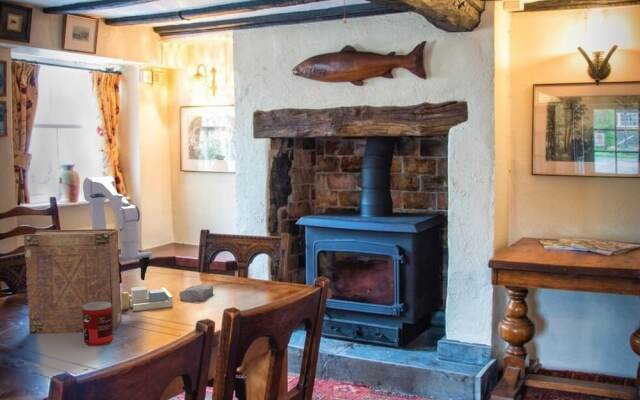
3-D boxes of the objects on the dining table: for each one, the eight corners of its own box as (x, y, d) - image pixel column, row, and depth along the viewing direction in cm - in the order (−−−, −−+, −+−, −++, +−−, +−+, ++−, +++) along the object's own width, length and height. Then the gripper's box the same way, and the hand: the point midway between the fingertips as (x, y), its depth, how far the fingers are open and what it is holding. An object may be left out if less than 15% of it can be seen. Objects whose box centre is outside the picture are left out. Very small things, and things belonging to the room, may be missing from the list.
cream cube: (131, 301, 236) (130, 287, 236) (145, 300, 238) (145, 286, 238) (133, 304, 232) (132, 290, 231) (148, 303, 233) (147, 289, 233)
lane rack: (127, 300, 237) (127, 291, 237) (164, 296, 242) (164, 287, 242) (133, 310, 223) (133, 300, 223) (172, 306, 228) (172, 296, 228)
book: (28, 333, 199) (22, 234, 196) (40, 324, 208) (35, 230, 205) (113, 331, 200) (108, 233, 197) (121, 322, 209) (117, 228, 206)
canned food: (88, 338, 193) (86, 301, 192) (116, 337, 194) (114, 300, 193) (80, 347, 186) (78, 308, 184) (110, 345, 186) (108, 307, 185)
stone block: (178, 305, 237) (204, 301, 235) (175, 292, 237) (201, 287, 235) (191, 298, 248) (216, 294, 246) (188, 286, 248) (213, 281, 246)
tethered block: (121, 307, 228) (120, 291, 227) (163, 302, 233) (162, 287, 233) (123, 310, 223) (122, 294, 223) (166, 306, 229) (165, 290, 228)
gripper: (110, 245, 217) (112, 285, 218) (153, 240, 224) (155, 280, 225) (105, 242, 223) (107, 282, 224) (148, 238, 230) (150, 277, 231)
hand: (131, 281), depth 225 cm, fingers open, 7 cm apart
